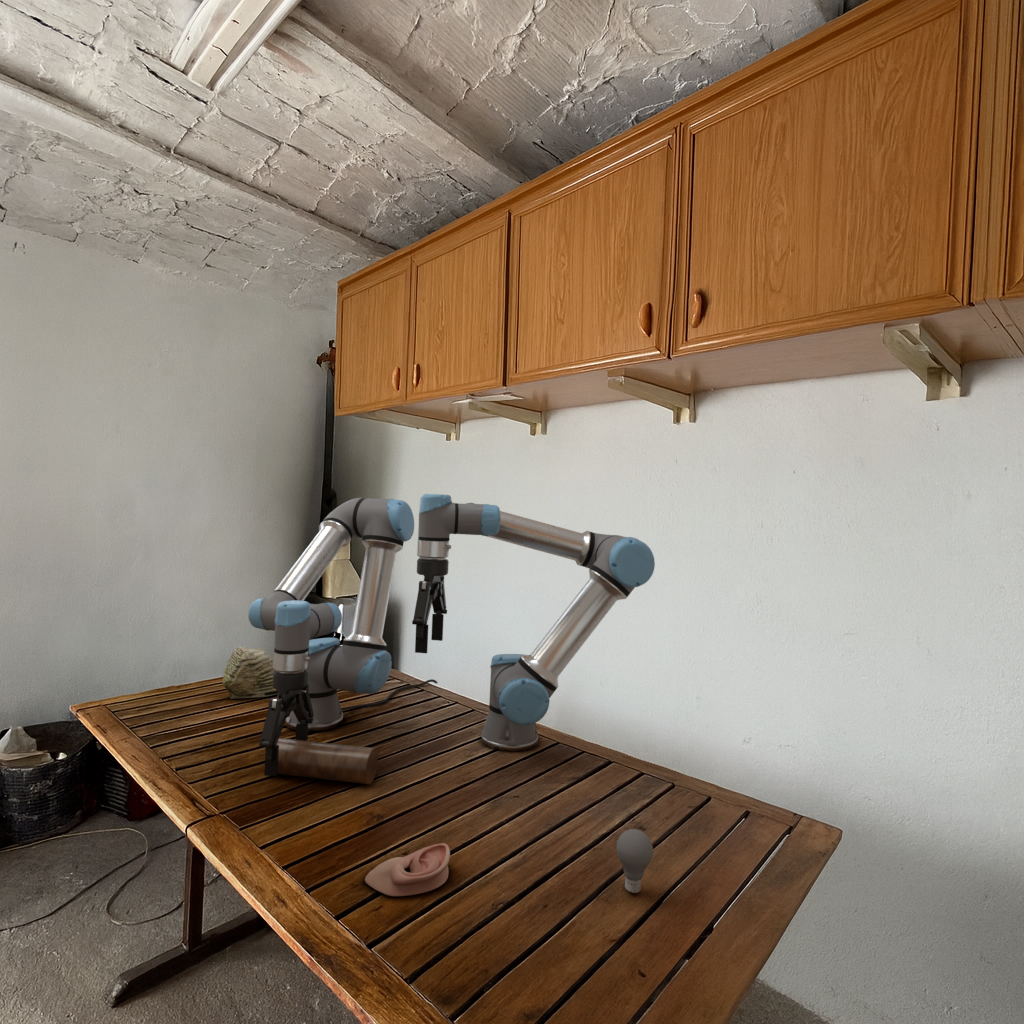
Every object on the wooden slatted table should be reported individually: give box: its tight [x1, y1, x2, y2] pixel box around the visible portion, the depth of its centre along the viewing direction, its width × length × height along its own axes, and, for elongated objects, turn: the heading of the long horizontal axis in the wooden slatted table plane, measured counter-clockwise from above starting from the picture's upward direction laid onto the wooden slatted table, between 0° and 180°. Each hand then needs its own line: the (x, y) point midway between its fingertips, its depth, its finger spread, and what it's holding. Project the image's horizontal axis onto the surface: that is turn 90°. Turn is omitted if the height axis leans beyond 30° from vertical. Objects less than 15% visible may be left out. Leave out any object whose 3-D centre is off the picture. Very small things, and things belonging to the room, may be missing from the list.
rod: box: [277, 737, 379, 785], centre depth 143 cm, size 24×8×8 cm, turn 81°
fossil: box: [222, 646, 278, 699], centre depth 198 cm, size 9×18×15 cm, turn 132°
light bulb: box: [615, 828, 654, 894], centre depth 106 cm, size 6×6×10 cm
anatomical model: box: [364, 842, 451, 897], centre depth 107 cm, size 13×4×12 cm
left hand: (286, 762), depth 144 cm, fingers open, 13 cm apart
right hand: (429, 646), depth 152 cm, fingers open, 13 cm apart
